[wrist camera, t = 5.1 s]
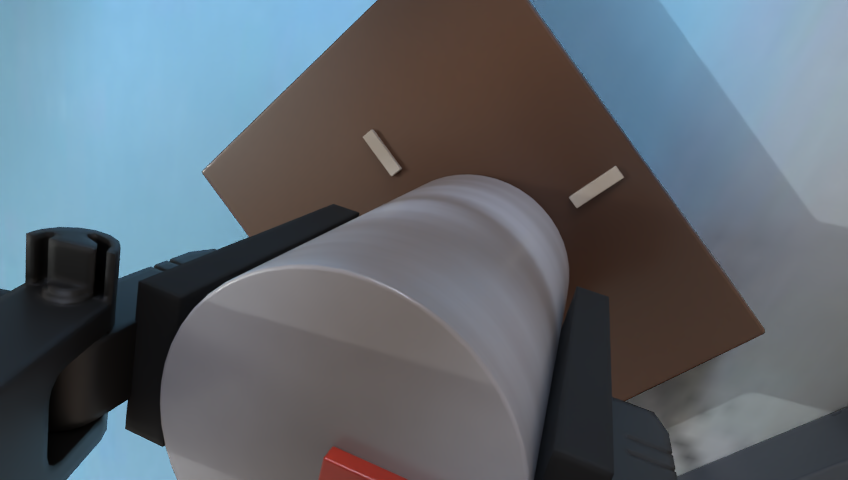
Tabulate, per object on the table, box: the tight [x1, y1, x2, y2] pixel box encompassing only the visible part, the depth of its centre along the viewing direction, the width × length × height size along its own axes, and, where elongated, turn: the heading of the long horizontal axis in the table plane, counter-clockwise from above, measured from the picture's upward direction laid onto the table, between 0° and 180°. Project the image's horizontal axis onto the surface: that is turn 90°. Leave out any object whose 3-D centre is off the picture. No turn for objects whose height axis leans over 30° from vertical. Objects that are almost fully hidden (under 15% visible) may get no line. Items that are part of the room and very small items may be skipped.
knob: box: [160, 174, 569, 480], centre depth 12 cm, size 6×6×9 cm
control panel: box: [202, 0, 765, 401], centre depth 17 cm, size 13×11×3 cm
